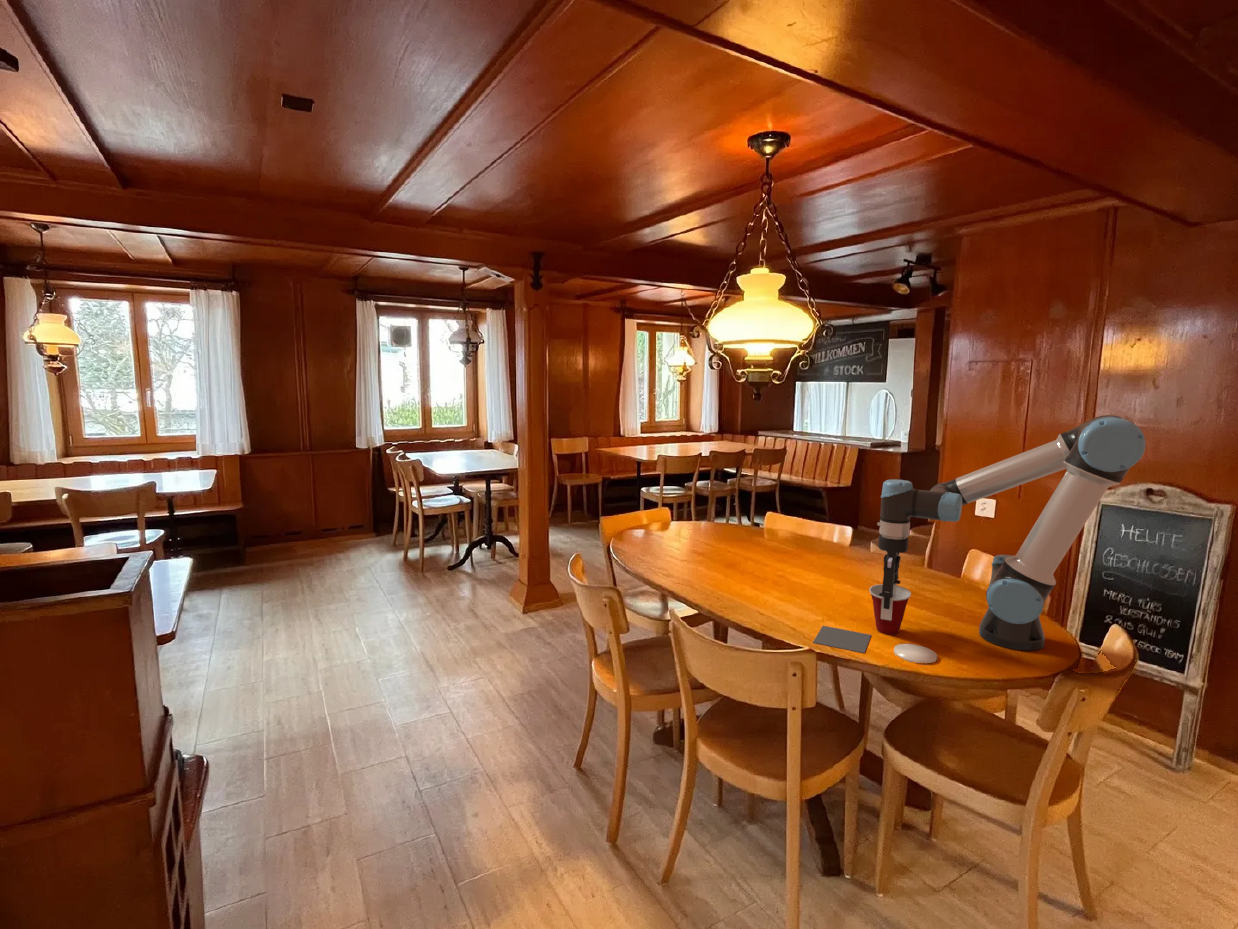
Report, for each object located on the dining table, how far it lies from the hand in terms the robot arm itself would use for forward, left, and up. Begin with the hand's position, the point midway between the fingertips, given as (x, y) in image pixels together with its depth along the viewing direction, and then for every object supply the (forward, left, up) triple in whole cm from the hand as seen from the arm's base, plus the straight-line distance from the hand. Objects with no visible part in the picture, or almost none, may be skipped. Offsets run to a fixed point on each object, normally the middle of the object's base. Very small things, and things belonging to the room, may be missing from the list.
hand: (888, 612), depth 173 cm
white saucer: (-8, +13, -6) cm, 16 cm away
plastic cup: (0, 0, -6) cm, 6 cm away
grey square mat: (+10, +12, -6) cm, 17 cm away
